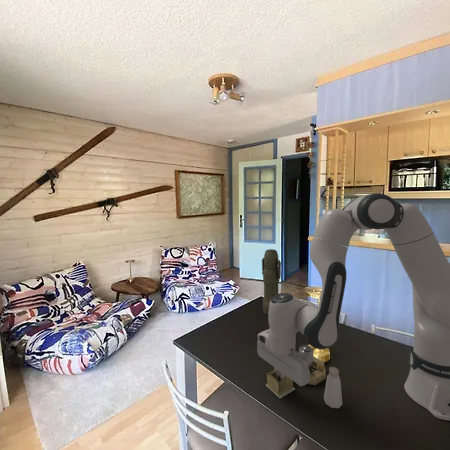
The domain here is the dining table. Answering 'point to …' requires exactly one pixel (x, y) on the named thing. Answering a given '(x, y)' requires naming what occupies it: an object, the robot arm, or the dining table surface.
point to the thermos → (270, 276)
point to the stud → (307, 355)
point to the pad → (282, 393)
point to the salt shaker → (333, 389)
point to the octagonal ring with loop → (287, 383)
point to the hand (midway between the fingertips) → (281, 380)
